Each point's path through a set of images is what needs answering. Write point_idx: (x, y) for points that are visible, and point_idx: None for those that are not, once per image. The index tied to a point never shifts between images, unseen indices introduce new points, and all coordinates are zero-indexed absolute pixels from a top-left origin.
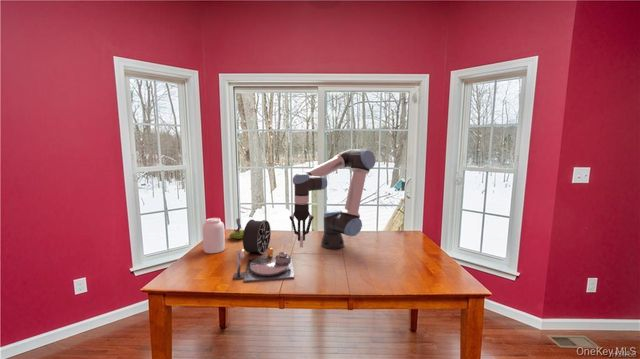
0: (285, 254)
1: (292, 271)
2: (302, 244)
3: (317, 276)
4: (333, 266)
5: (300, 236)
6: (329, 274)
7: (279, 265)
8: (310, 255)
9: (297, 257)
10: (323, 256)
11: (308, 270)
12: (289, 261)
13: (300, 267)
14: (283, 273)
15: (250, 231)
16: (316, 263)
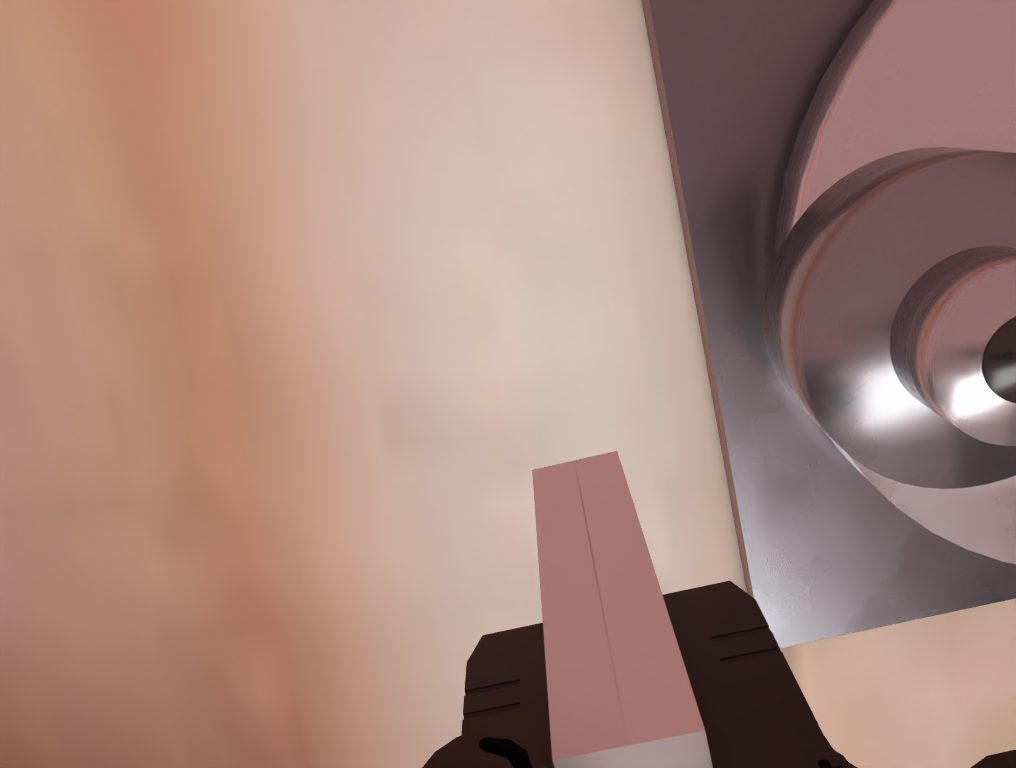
0: (964, 296)
1: (683, 107)
2: (550, 512)
3: (210, 31)
4: (18, 435)
5: (678, 696)
6: (15, 132)
7: None
8: None
9: None
10: (255, 749)
11: (411, 249)
12: (797, 257)
13: (565, 346)
14: (845, 4)
15: None
16: (321, 511)
